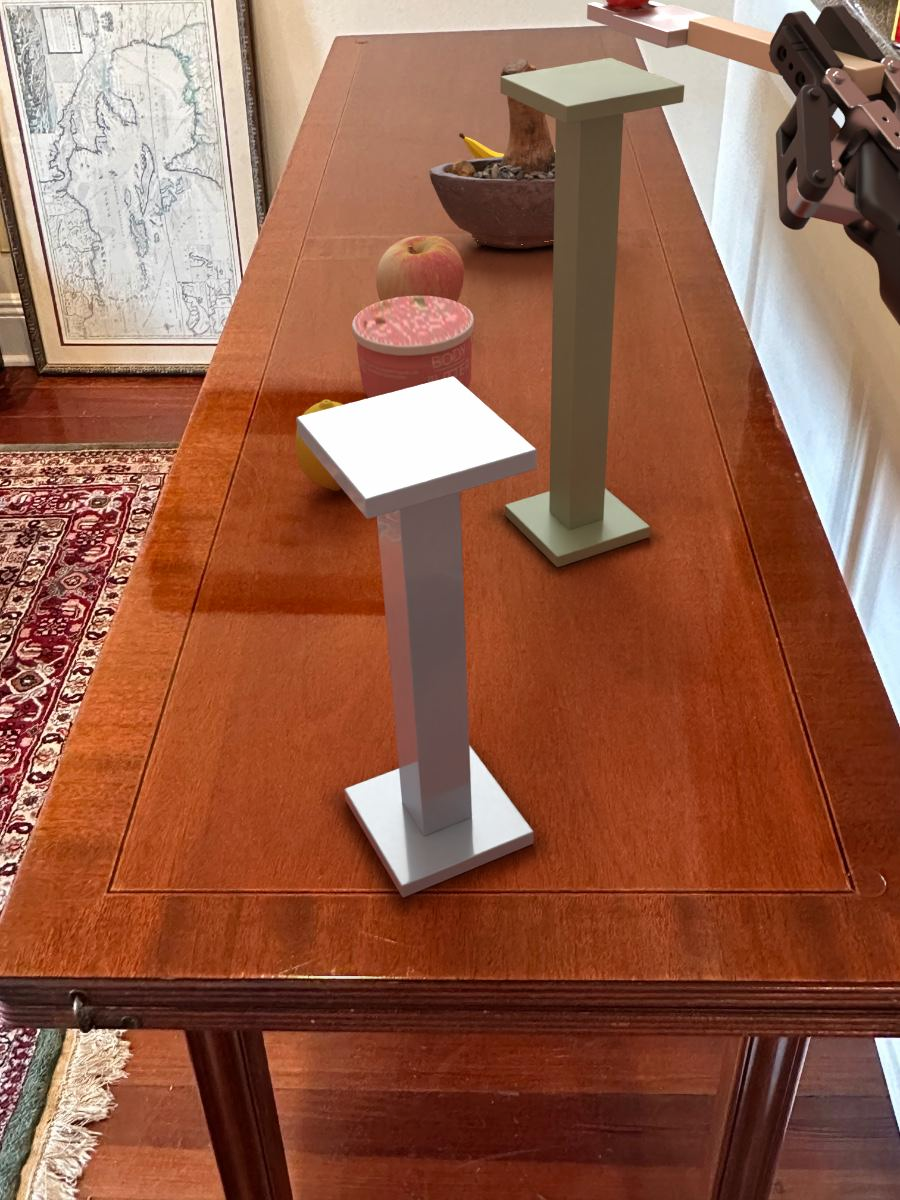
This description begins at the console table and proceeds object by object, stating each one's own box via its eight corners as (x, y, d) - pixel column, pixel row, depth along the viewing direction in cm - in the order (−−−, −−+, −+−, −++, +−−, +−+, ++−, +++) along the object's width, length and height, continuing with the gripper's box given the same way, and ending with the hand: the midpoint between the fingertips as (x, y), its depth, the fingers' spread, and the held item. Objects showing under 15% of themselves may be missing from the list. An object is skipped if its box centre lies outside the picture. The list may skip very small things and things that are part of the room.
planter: (425, 247, 137) (416, 61, 125) (528, 209, 146) (528, 32, 134) (516, 281, 128) (516, 85, 116) (620, 239, 137) (629, 52, 125)
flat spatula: (901, 89, 53) (918, 0, 51) (832, 103, 51) (846, 12, 49) (639, 10, 67) (643, -62, 65) (579, 19, 66) (581, -54, 64)
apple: (468, 302, 125) (466, 226, 120) (460, 338, 118) (458, 260, 113) (386, 301, 125) (380, 226, 121) (373, 338, 118) (367, 259, 114)
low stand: (534, 843, 66) (537, 449, 51) (402, 898, 63) (365, 499, 48) (468, 753, 72) (453, 375, 57) (345, 800, 69) (295, 416, 54)
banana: (607, 177, 154) (610, 127, 151) (461, 187, 153) (460, 136, 150) (603, 170, 157) (605, 120, 153) (459, 180, 156) (458, 130, 152)
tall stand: (649, 537, 89) (685, 84, 70) (557, 568, 86) (567, 106, 67) (592, 487, 95) (611, 57, 75) (504, 515, 92) (499, 76, 73)
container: (466, 371, 112) (464, 290, 107) (484, 424, 104) (483, 339, 99) (355, 382, 111) (347, 300, 106) (364, 437, 103) (356, 351, 98)
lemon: (291, 504, 95) (279, 415, 90) (314, 468, 99) (303, 381, 94) (358, 511, 93) (349, 421, 88) (378, 475, 98) (371, 386, 93)
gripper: (1199, 225, 48) (961, -69, 53) (948, 299, 43) (713, -31, 48) (1075, 340, 54) (873, 69, 60) (844, 416, 50) (648, 113, 55)
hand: (802, 25), depth 54 cm, fingers closed on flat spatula
